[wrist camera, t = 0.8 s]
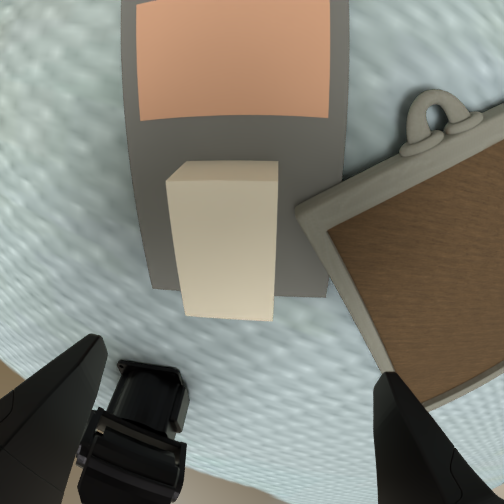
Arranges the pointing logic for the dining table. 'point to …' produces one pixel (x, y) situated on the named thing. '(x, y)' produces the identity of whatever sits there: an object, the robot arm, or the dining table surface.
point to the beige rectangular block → (225, 237)
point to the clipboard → (424, 251)
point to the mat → (236, 111)
